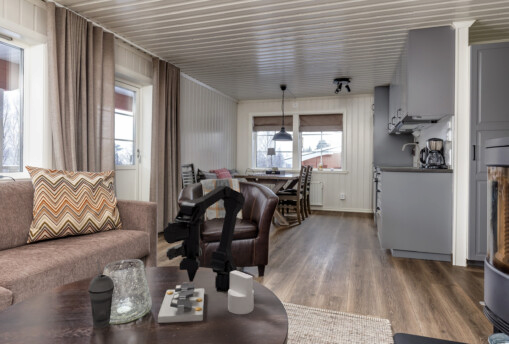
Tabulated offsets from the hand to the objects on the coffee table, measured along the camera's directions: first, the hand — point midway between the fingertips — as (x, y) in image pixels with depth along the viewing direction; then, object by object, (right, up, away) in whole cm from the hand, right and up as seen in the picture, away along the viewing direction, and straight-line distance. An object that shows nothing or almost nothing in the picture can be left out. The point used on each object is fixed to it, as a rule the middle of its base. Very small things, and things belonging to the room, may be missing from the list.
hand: (191, 281), depth 112 cm
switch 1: (-4, -5, +6) cm, 9 cm away
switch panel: (-3, -9, 0) cm, 9 cm away
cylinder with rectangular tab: (+18, -9, -1) cm, 20 cm away
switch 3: (-2, -5, -7) cm, 9 cm away
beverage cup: (-25, -9, -13) cm, 30 cm away
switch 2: (-3, -5, -1) cm, 5 cm away
